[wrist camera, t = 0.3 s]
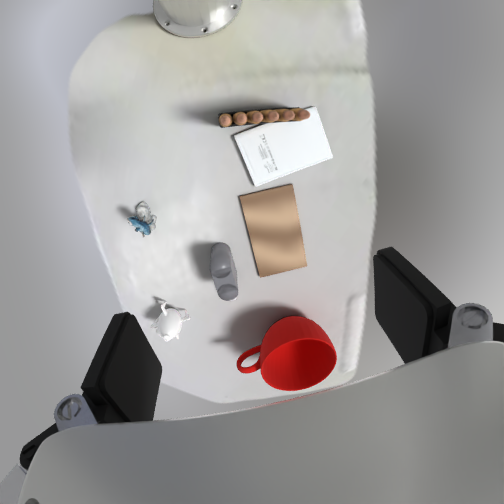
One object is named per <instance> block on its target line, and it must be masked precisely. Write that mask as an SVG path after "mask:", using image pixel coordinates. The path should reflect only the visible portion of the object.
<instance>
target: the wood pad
mask: <svg viewBox="0 0 504 504" xmlns="http://www.w3.org/2000/svg"><path fill="white" fill-rule="evenodd" d="M240 200H241V204H242V208H243V212H244V216H245V220H246V224H247V228H248V232H249V235H250V239H251V243H252V247H253V251H254V255H255V259H256V263H257V267H258V271H259V275H260V278H261V277H265V276H269V275H273V274H277V273H281V272H286V271H290V270H294V269H298V268H302V267H306V266H307V262H306V256H305V250H304V244H303V238H302V233H301V227H300V221H299V216H298V210H297V205H296V200H295V194H294V189H293V185H292V184H289V185H285V186H280V187H276V188H272V189H267V190H263V191H259V192H255V193H251V194H246V195H242V196H240Z"/></svg>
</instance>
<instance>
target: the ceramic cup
mask: <svg viewBox="0 0 504 504" xmlns="http://www.w3.org/2000/svg"><path fill="white" fill-rule="evenodd" d="M258 352H260V356H259V359H258V361H257V362H256V363H255V364H254V365H252V366H250V367H242V366H241V364H242V362H243V361H244V360H245V359H246V358H247V357H249V356H251V355H253V354H255V353H258ZM336 360H337V356H336V351H335V349H334V346H333V344H332V342H331V340H330V339H329V337H328V335H327V334H326V333H325V332H324V330H323V329H322V328H321V327H320V326H319V325H318V324H316V323H315V322H314V321H312V320H310V319H307V318H305V317H300V316H289V317H285V318H282V319H281V320H279V321H277V322H276V323H274V324H273V325H272V326H271V327H270V328H269V330H268V331H267V332H266V334H265V336H264V338H263V341H262V345H259V346H256V347H254V348H252V349H250V350H248V351H246V352H244V353H243V354H242V355H241V356H240V357H239V358H238V360H237V368H238V370H239V371H240V372H242V373H252V372H255V371H257V370H258V369H260V368H261V375H262V377H263V379H264V380H265V382H266V383H267V384H269V385H270V386H272V387H274V388H276V389H279V390H285V391H296V390H302V389H306V388H309V387H312V386H314V385H316V384H318V383H320V382H321V381H323V380H324V379H325V378H326V377H327V376H328V375H329V374H330V373H331V372H332V370H333V369H334V367H335V364H336Z"/></svg>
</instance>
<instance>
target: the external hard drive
mask: <svg viewBox="0 0 504 504" xmlns="http://www.w3.org/2000/svg"><path fill="white" fill-rule="evenodd" d="M304 110H307V111H309V112H310V117H309V118H308V119H304V120H302V121H295V122H277V123H264V124H262V125H259V126H256V127H254V128H251V129H249V130H246V131H244V132H241V133H238V134H236V135H234V138H235V140H236V142H237V144H238V147H239V149H240V151H241V154H242V156H243V159H244V161H245V163H246V166H247V168H248V171H249V173H250V175H251V178H252V180H253V183H254V185H255V187H257V186H259V185H262V184H264V183H267V182H269V181H272V180H275V179H277V178H280V177H282V176H285V175H288V174H290V173H293V172H296V171H298V170H301V169H304V168H306V167H309V166H312V165H315V164H317V163H320V162H323V161H326V160H328V159H331V158H333V155H332V152H331V149H330V146H329V143H328V140H327V137H326V134H325V131H324V128H323V125H322V123H321V120H320V117H319V114H318V112H317V109H316V107H310V108H307V109H304Z"/></svg>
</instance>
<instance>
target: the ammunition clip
mask: <svg viewBox="0 0 504 504" xmlns="http://www.w3.org/2000/svg"><path fill="white" fill-rule="evenodd" d="M309 117H310V112H309V111H307V110H303V109H301V108H299V107H297V108H276V109H262V110H249V111H239V112H229V113H221V114H219V124H220V127H221V128H223V127H232V126H241V125H252V124H263V123H277V122H295V121H302V120H304V119H308V118H309Z"/></svg>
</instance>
